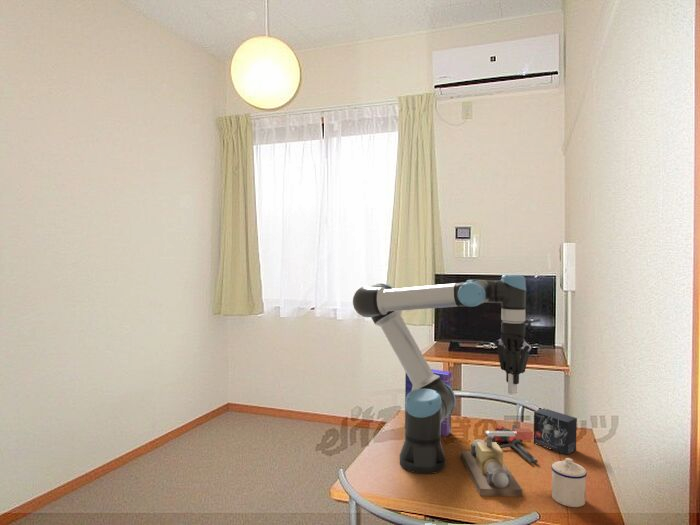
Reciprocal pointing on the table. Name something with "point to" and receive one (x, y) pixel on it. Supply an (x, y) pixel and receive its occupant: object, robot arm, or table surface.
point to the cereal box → (446, 379)
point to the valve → (512, 443)
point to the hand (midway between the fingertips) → (512, 393)
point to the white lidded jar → (568, 483)
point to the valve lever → (512, 434)
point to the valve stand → (490, 470)
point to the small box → (555, 431)
